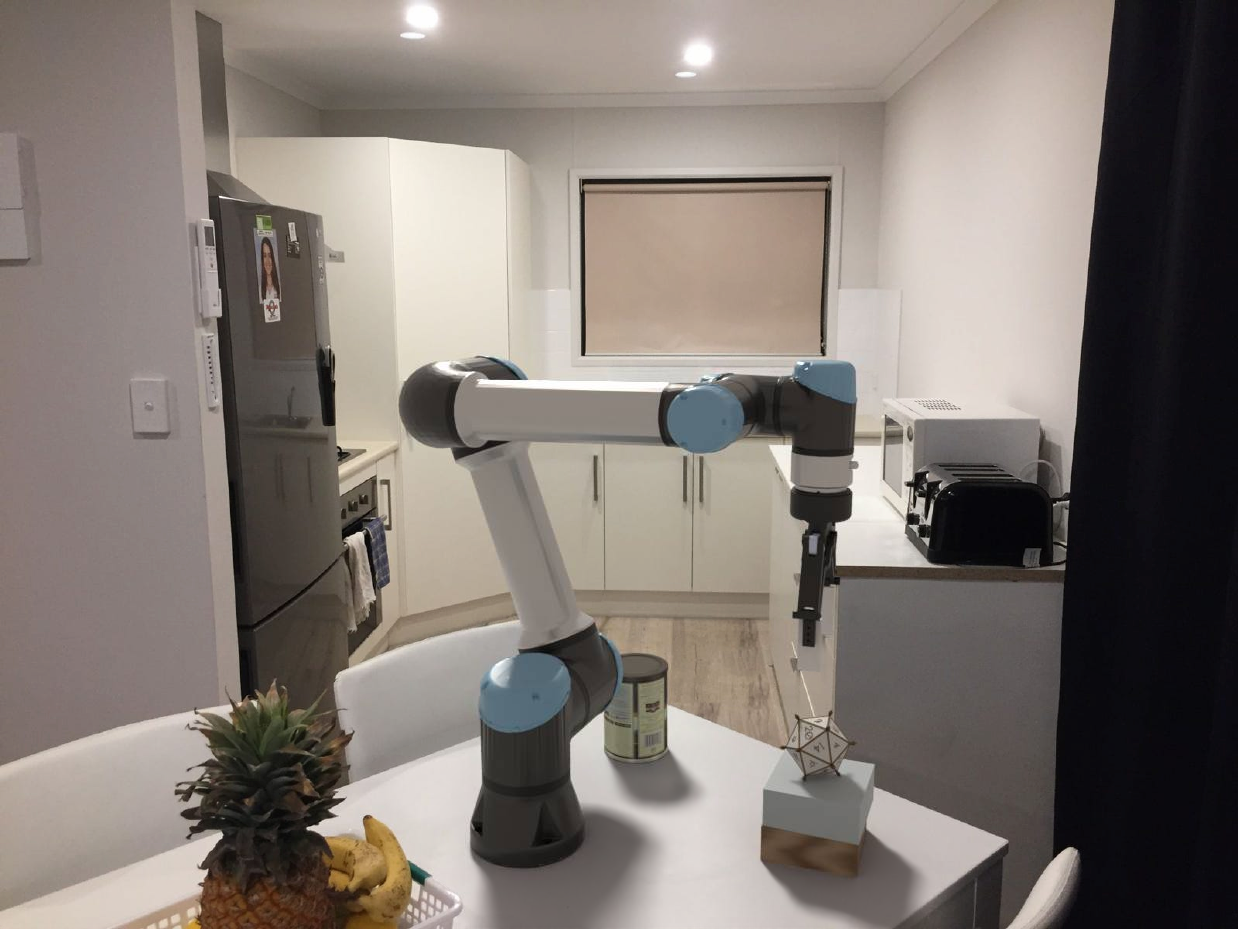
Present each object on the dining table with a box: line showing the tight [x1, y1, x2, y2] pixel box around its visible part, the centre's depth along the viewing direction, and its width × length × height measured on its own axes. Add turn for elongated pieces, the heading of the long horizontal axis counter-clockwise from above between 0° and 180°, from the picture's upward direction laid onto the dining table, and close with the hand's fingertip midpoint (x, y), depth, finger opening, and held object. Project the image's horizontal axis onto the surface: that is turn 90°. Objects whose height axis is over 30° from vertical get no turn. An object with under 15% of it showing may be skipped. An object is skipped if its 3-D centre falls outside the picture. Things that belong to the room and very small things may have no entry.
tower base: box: [759, 821, 868, 879], centre depth 130 cm, size 12×12×5 cm
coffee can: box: [603, 652, 669, 764], centre depth 157 cm, size 10×10×14 cm
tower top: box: [761, 749, 876, 845], centre depth 129 cm, size 12×12×5 cm
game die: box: [778, 709, 858, 782], centre depth 129 cm, size 9×8×10 cm
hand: (815, 651), depth 127 cm, fingers open, 13 cm apart
